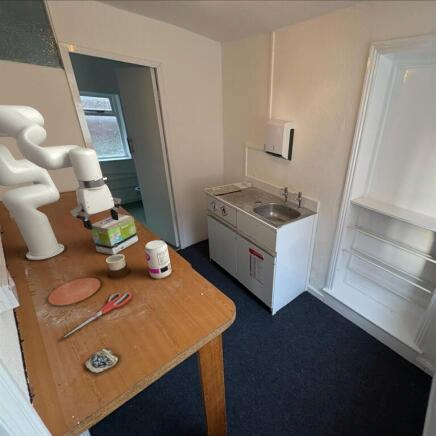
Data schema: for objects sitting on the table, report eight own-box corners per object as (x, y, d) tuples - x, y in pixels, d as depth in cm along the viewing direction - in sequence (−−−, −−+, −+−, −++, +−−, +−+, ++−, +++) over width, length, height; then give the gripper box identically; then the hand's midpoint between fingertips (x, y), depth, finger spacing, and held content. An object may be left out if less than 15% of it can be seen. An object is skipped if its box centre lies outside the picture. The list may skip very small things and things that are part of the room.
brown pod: (106, 275, 98) (103, 268, 96) (122, 267, 104) (119, 259, 102) (117, 280, 96) (114, 272, 94) (132, 271, 102) (130, 264, 100)
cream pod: (104, 268, 96) (102, 260, 95) (120, 260, 102) (117, 252, 100) (115, 272, 94) (112, 264, 93) (130, 264, 100) (128, 256, 98)
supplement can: (150, 281, 97) (143, 251, 90) (150, 270, 103) (144, 241, 97) (172, 276, 100) (166, 247, 94) (171, 266, 107) (166, 237, 101)
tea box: (114, 255, 111) (106, 228, 105) (96, 252, 112) (87, 225, 106) (139, 240, 124) (133, 215, 118) (123, 237, 126) (116, 212, 120)
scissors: (60, 339, 71) (58, 335, 71) (117, 292, 90) (116, 289, 90) (81, 344, 70) (80, 341, 70) (135, 295, 89) (134, 293, 89)
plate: (39, 297, 85) (38, 296, 85) (85, 274, 98) (85, 273, 98) (64, 311, 80) (63, 310, 80) (109, 285, 93) (109, 284, 93)
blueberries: (100, 348, 70) (98, 343, 69) (125, 351, 69) (123, 347, 68) (79, 370, 63) (77, 366, 63) (107, 374, 63) (105, 370, 62)
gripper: (109, 176, 94) (118, 214, 102) (56, 186, 80) (71, 230, 87) (121, 179, 92) (130, 218, 99) (69, 190, 77) (84, 235, 84)
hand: (103, 224), depth 93 cm, fingers open, 9 cm apart
